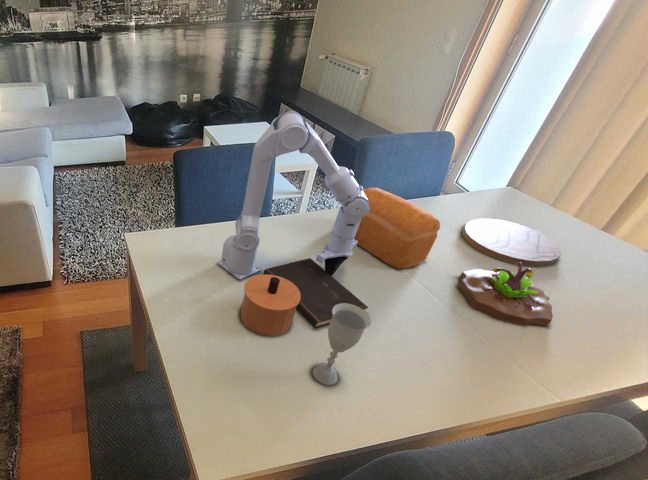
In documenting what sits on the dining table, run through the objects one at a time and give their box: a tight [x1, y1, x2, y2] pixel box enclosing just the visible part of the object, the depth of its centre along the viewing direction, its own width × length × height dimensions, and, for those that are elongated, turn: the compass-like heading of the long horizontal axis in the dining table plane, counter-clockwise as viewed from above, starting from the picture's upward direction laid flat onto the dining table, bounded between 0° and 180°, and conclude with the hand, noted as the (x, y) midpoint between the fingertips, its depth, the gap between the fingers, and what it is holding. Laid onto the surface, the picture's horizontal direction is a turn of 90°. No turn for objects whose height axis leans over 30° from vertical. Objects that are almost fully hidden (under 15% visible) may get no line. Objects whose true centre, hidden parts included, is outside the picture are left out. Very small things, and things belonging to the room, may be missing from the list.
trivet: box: [461, 218, 562, 267], centre depth 128 cm, size 25×25×2 cm
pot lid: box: [243, 274, 301, 311], centre depth 95 cm, size 13×13×5 cm
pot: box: [240, 292, 297, 337], centre depth 99 cm, size 12×12×8 cm
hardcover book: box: [262, 257, 369, 329], centre depth 108 cm, size 16×23×2 cm
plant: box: [458, 262, 553, 327], centre depth 103 cm, size 20×20×11 cm
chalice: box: [312, 303, 372, 386], centre depth 82 cm, size 7×7×18 cm
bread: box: [354, 187, 441, 270], centre depth 123 cm, size 14×26×16 cm, turn 24°
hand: (328, 274), depth 114 cm, fingers closed
